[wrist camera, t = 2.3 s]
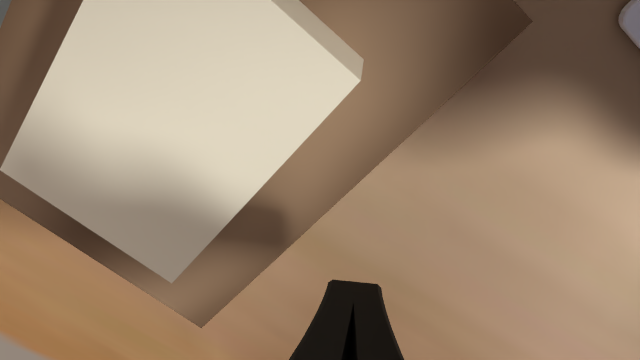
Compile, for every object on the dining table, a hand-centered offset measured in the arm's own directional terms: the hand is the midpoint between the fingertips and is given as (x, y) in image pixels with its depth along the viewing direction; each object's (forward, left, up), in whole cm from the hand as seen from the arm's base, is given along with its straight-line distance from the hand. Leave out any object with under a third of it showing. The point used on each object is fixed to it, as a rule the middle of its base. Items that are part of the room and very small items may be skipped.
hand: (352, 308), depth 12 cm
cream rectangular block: (+7, 0, -3) cm, 8 cm away
